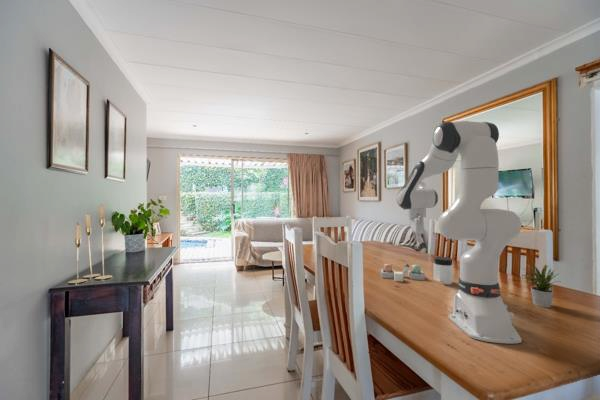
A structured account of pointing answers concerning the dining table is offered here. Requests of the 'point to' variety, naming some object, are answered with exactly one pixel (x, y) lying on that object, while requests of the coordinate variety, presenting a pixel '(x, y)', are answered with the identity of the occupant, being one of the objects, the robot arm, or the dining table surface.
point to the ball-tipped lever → (405, 269)
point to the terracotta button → (387, 267)
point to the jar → (443, 270)
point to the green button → (416, 269)
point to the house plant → (541, 287)
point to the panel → (410, 274)
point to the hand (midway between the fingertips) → (416, 240)
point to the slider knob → (398, 276)
